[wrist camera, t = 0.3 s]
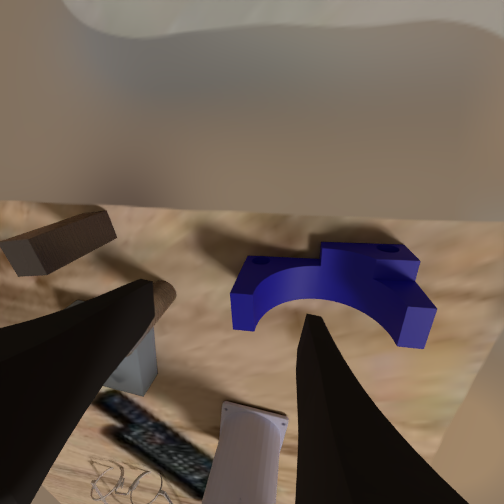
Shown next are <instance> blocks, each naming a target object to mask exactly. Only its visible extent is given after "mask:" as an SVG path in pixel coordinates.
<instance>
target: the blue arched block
mask: <svg viewBox="0 0 504 504" xmlns="http://www.w3.org/2000/svg"><path fill="white" fill-rule="evenodd" d="M419 265H420V260H419V259H418V258H417V257H416V256H415V255H414V254H413V253H412V252H411V251H410V250H409V249H408V248H407V247H406V246H405V245H401V244H371V243H341V242H321V249H320V259H312V258H290V257H268V256H247V258H246V260H245V262H244V265H243V267H242V269H241V271H240V273H239V275H238V277H237V279H236V281H235V284H234V286H233V288H232V290H231V292H230V299H231V311H232V323H233V329H234V330H244V331H255V328H256V325H257V323H258V322H259V320H260V319H261V317H262V316H263V315H264V314H265V313H266V312H268V311H269V310H270V309H272V308H273V307H275V306H277V305H279V304H282V303H284V302H288V301H291V300H297V299H324V300H330V301H335V302H339V303H342V304H345V305H348V306H351V307H353V308H355V309H357V310H359V311H361V312H363V313H365V314H367V315H368V316H370V317H371V318H373V319H374V320H375V321H377V322H378V323H379V324H380V325H381V326H382V327H383V328H384V329H385V330H386V331H387V332H388V333H389V334H390V336H391V337H392V339H393V340H394V342H395V344H396V345H397V346H399V347H408V348H418V349H424V347H425V344H426V341H427V338H428V335H429V332H430V329H431V326H432V323H433V320H434V317H435V314H436V311H437V308H436V307H435V305H434V304H433V303H432V302H431V300H430V299H429V298H428V297H427V295H426V294H425V293H424V292H423V291H422V289H421V288H420V287H419V286H418V284H417V283H416V282H415V279H416V276H417V272H418V268H419Z"/></svg>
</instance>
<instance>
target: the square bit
mask: <svg viewBox="0 0 504 504" xmlns="http://www.w3.org/2000/svg"><path fill="white" fill-rule="evenodd" d="M116 238H117V236H116V233H115V231H114V228H113V226H112V223H111V221H110V218H109V215H108V213H107V211H100V212H91V213H83V214H80V215H77V216H74V217H71V218H68V219H65V220H62V221H59V222H56V223H53V224H50V225H47V226H44V227H41V228H38V229H35V230H32V231H29V232H26V233H23V234H21V235H18V236H15V237H12V238H9V239H6V240H3V241H0V247H1V249H2V250H3V252H4V254H5V255H6V257H7V259H8V260H9V262H10V264H11V265H12V267H13V269H14V270H15V272H16V274H17V275H18V277H20V276H38V275H48V274H50V273H52V272H54V271H56V270H58V269H59V268H61V267H63V266H65V265H67V264H69V263H71V262H73V261H75V260H76V259H78V258H80V257H82V256H84V255H86V254H88V253H90V252H92V251H93V250H95V249H97V248H99V247H101V246H103V245H105V244H107V243H108V242H110V241H112V240H114V239H116Z"/></svg>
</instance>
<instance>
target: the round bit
mask: <svg viewBox="0 0 504 504" xmlns="http://www.w3.org/2000/svg"><path fill="white" fill-rule="evenodd" d="M153 293H154V307H155V317H154V319H153V320H152V322H151V324H150V325H149V327H148V329H147V330H146V332H145V333H144V335H143V336H142V337H141V339H140V340H139V341H138V342H137V344H136V345H135V346H134V347H133V349H132V350H131V351H130V352H129V354H128V355H127V356H126V357H128V356H130V355H131V354H132V353H133V351H134V350H135V349H136V348H137V346H138V345H139V344H140V343H141V341H142V340H143V339H144V338H145V336H146V335H147V334H148V333H149V331H150V330H151V329H152V328H153V326H154V325H155V324H156V323H157V321H158V320H159V319H160V318H161V316H162V315H163V314H164V312H165V311H166V310H167V309H168V307H169V306H170V305H171V304H172V302H173V301H174V300H175V298H176V291H175V289H174V287H173V286H172V285H171V284H169V283H168V282H165V281H157V282H155V283H154V284H153Z"/></svg>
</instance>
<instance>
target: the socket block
mask: <svg viewBox="0 0 504 504" xmlns="http://www.w3.org/2000/svg"><path fill="white" fill-rule="evenodd" d="M82 302H85V301H80V300H76V301H75V302H74V303H72V304H71V305H69V306H68V307H67V308H69V307H72V306H74V305H77V304H80V303H82ZM67 308H65V309H67ZM157 374H158V372H157V361H156V349H155V338H154V327H153V328H152V329H151V330H150V331H149V333H148V334H147V335H146V336H145V338H144V339H143V340H142V341H141V343H140V344H139V345H138V346H137V348H136V349H135V350H134V351H133V353H132V354H131V355H130V356H128V357H125V358H124V360H123V361H122V362H121V363H120V365H119V366H118V367H117V368H116V369H115V371H114V372H113V373H112V374H111V376H110V377H109V378H108V379H107V381H106V382H105V383H104V385H103V386H105V387H109V388H113V389H117V390H120V391H124V392H128V393H132V394H135V395H139V396H143V397H144V395H145V393H146V392H147V390H148V389H149V387H150V385H151V384H152V382H153V380H154V379H155V377H156V376H157Z"/></svg>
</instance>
